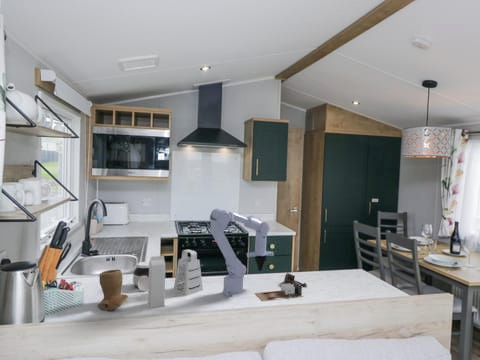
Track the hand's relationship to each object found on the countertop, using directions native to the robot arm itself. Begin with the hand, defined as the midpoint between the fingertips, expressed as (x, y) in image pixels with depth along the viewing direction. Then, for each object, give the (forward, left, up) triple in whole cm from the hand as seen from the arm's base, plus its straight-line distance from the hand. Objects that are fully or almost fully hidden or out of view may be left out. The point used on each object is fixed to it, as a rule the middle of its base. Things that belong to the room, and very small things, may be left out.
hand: (259, 270), depth 171 cm
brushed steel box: (+11, -14, -8) cm, 20 cm away
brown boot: (-72, -2, -10) cm, 73 cm away
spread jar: (-57, +16, -10) cm, 60 cm away
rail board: (+5, -13, -10) cm, 17 cm away
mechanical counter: (+20, -2, -10) cm, 22 cm away
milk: (-53, -7, -10) cm, 54 cm away
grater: (-36, +7, -10) cm, 38 cm away
